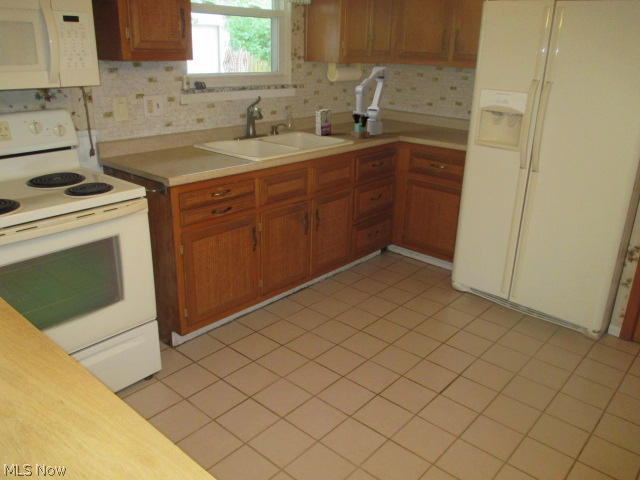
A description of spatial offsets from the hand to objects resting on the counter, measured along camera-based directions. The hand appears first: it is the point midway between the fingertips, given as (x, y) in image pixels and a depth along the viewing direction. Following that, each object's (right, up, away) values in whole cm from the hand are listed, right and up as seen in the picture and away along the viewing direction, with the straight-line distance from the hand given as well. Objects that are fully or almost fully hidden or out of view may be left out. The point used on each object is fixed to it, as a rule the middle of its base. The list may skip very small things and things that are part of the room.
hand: (360, 126), depth 346 cm
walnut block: (0, -7, +3) cm, 7 cm away
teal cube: (0, -3, +1) cm, 3 cm away
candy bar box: (-24, -4, +10) cm, 26 cm away
